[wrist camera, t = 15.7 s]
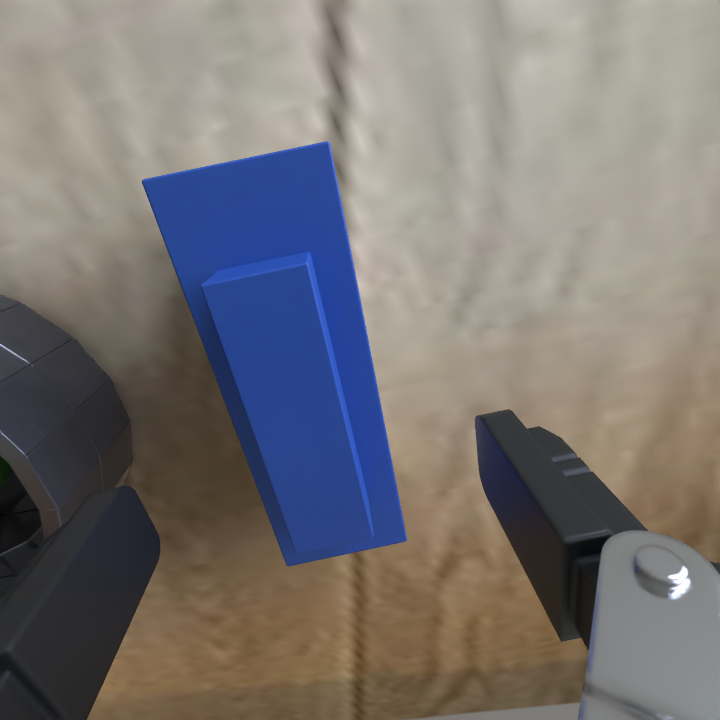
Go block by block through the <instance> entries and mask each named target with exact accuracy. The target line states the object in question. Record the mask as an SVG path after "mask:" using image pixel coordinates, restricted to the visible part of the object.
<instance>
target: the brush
mask: <svg viewBox="0 0 720 720" xmlns="http://www.w3.org/2000/svg"><path fill="white" fill-rule="evenodd" d="M142 184H143V186H144V189H145V192H146V194H147V197H148V200H149V202H150V205H151V207H152V210H153V213H154V215H155V218H156V221H157V223H158V226H159V229H160V231H161V234H162V237H163V239H164V242H165V245H166V247H167V250H168V253H169V255H170V258H171V260H172V263H173V266H174V268H175V271H176V274H177V276H178V279H179V282H180V284H181V287H182V290H183V292H184V295H185V298H186V300H187V303H188V305H189V308H190V311H191V313H192V316H193V319H194V321H195V324H196V327H197V329H198V332H199V335H200V337H201V340H202V343H203V345H204V348H205V350H206V353H207V356H208V358H209V361H210V364H211V366H212V369H213V372H214V374H215V377H216V380H217V382H218V385H219V388H220V390H221V393H222V395H223V398H224V401H225V403H226V406H227V409H228V411H229V414H230V417H231V419H232V422H233V425H234V427H235V430H236V433H237V435H238V438H239V440H240V443H241V446H242V448H243V451H244V454H245V456H246V459H247V462H248V464H249V467H250V470H251V472H252V475H253V478H254V480H255V483H256V486H257V488H258V491H259V493H260V496H261V499H262V501H263V504H264V507H265V509H266V512H267V515H268V517H269V520H270V523H271V525H272V528H273V531H274V533H275V536H276V538H277V541H278V544H279V546H280V549H281V552H282V554H283V557H284V560H285V562H286V565H287V566H293V565H297V564H302V563H307V562H311V561H316V560H321V559H325V558H330V557H335V556H340V555H344V554H349V553H354V552H358V551H363V550H368V549H372V548H377V547H382V546H386V545H391V544H396V543H401V542H405V541H407V537H406V532H405V526H404V521H403V516H402V511H401V506H400V501H399V496H398V490H397V485H396V480H395V475H394V470H393V465H392V460H391V454H390V449H389V444H388V439H387V434H386V429H385V424H384V418H383V413H382V408H381V403H380V398H379V393H378V388H377V382H376V377H375V372H374V367H373V362H372V357H371V352H370V346H369V341H368V336H367V331H366V326H365V321H364V316H363V310H362V305H361V300H360V295H359V290H358V285H357V280H356V274H355V269H354V264H353V259H352V254H351V249H350V244H349V238H348V233H347V228H346V223H345V218H344V213H343V208H342V202H341V197H340V192H339V187H338V182H337V177H336V172H335V166H334V161H333V156H332V151H331V146H330V143H329V142H327V141H326V142H322V143H317V144H312V145H307V146H302V147H298V148H293V149H288V150H283V151H278V152H273V153H269V154H264V155H259V156H254V157H249V158H245V159H240V160H235V161H230V162H225V163H220V164H216V165H211V166H206V167H201V168H196V169H192V170H187V171H182V172H177V173H172V174H167V175H163V176H158V177H153V178H148V179H144V180H142Z"/></svg>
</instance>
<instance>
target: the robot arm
mask: <svg viewBox="0 0 720 720" xmlns="http://www.w3.org/2000/svg"><path fill="white" fill-rule="evenodd" d="M475 429H476V441H477V453H478V465H479V473H480V478H481V482H482V486H483V489H484V492H485V494H486V496H487V499H488V500H489V502H490V504H491V506H492V508H493V510H494V512H495V514H496V516H497V518H498V520H499V522H500V524H501V526H502V528H503V530H504V532H505V533H506V535H507V537H508V539H509V541H510V543H511V545H512V547H513V549H514V551H515V553H516V555H517V557H518V559H519V561H520V563H521V565H522V566H523V568H524V570H525V572H526V574H527V576H528V578H529V580H530V582H531V584H532V586H533V588H534V590H535V592H536V594H537V596H538V597H539V599H540V601H541V603H542V605H543V607H544V609H545V611H546V613H547V615H548V617H549V619H550V621H551V623H552V625H553V627H554V629H555V630H556V632H557V634H558V636H559V638H560V640H561V642H562V641H567V640H572V639H577V638H582V640H583V642H584V644H585V645H586V647H587V649H588V651H589V653H588V661H587V669H586V676H585V683H584V685H583V689H582V695H581V701H580V708H579V716H578V720H720V564H718V563H712V562H709V561H708V560H707V559H706V558H705V557H704V556H702V555H701V554H700V553H699V552H697V551H696V550H694V549H693V548H691V547H690V546H688V545H686V544H684V543H683V542H681V541H679V540H676V539H674V538H672V537H669V536H666V535H663V534H660V533H655V532H650V531H648V530H647V529H646V528H645V527H644V526H643V525H642V524H641V523H640V522H639V521H638V520H637V519H636V518H635V517H634V515H633V514H632V513H631V512H630V511H629V510H628V509H627V508H626V507H625V506H624V505H623V504H622V503H621V502H620V500H619V499H618V498H617V497H616V496H615V495H614V494H613V493H612V492H611V491H610V490H609V489H608V488H607V487H606V485H605V484H604V483H603V482H602V481H601V480H600V479H599V478H598V477H597V476H596V475H595V474H594V473H593V472H590V470H589V467H588V466H587V465H586V464H585V463H584V462H583V461H582V460H581V459H580V458H577V456H576V453H575V452H574V451H573V450H572V449H571V448H570V447H569V446H568V445H567V444H566V443H565V442H564V440H563V439H562V438H560V437H558V436H556V435H555V434H553V433H551V432H549V431H547V430H545V429H543V428H541V427H534V428H529V429H527V428H526V427H525V426H524V425H523V424H522V422H521V421H520V420H519V419H518V418H517V416H516V415H515V414H514V413H513V412H512V411H511V410H509V409H508V410H503V411H498V412H493V413H488V414H483V415H478V416H476V418H475ZM159 556H160V539H159V535H158V533H157V531H156V529H155V527H154V525H153V523H152V521H151V519H150V517H149V516H148V514H147V512H146V510H145V508H144V506H143V504H142V502H141V500H140V499H139V497H138V495H137V493H136V491H135V490H134V489H133V488H132V487H130V486H121V487H116V488H111V489H107V490H102V491H97V492H93V493H90V494H89V495H88V496H87V497H86V498H85V499H84V501H83V502H82V503H81V504H80V506H79V507H78V508H77V510H76V511H75V512H74V513H73V515H72V516H71V517H70V519H69V520H68V521H67V522H66V523H65V524H64V525H62V526H61V527H60V528H59V529H58V530H56V531H55V532H54V533H53V534H52V535H51V536H49V537H48V538H47V539H46V540H45V541H44V542H43V543H42V544H41V546H40V547H39V548H38V549H37V551H36V552H35V553H34V554H33V556H32V557H31V558H30V559H29V561H28V562H27V563H26V564H27V566H26V567H25V568H22V569H21V571H20V572H19V573H18V574H17V576H16V577H15V578H14V579H13V581H12V582H11V587H7V588H6V589H5V591H4V592H3V593H2V594H1V596H0V720H87V718H88V715H89V713H90V711H91V709H92V707H93V704H94V702H95V700H96V698H97V696H98V693H99V691H100V689H101V687H102V684H103V682H104V680H105V678H106V676H107V673H108V671H109V669H110V667H111V665H112V662H113V660H114V658H115V656H116V654H117V651H118V649H119V647H120V645H121V642H122V640H123V638H124V636H125V634H126V631H127V629H128V627H129V625H130V623H131V620H132V618H133V616H134V614H135V611H136V609H137V607H138V605H139V603H140V600H141V598H142V596H143V594H144V592H145V589H146V587H147V585H148V583H149V580H150V578H151V576H152V574H153V572H154V569H155V567H156V565H157V563H158V560H159Z"/></svg>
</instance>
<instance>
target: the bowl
mask: <svg viewBox="0 0 720 720" xmlns="http://www.w3.org/2000/svg"><path fill="white" fill-rule="evenodd" d="M0 456H1V457H2V458H3V459H4V460H5V461H6V462H8V464H9V465H10V467H11V468H12V470H13V471H12V473H11V474H10V476H9V477H8V478H7V480H6V481H5V482H4V483H3V484H2V485H1V486H0V596H1V594H2V593H3V592H4V591H5V589H6V588H7V587H11V582H12V581H13V579H14V578H15V577H16V576H17V574H18V573H19V572H20V571H21V569H22V568H25V567H26V566H27V564H26V563H27V562H28V561H29V559H30V558H31V557H32V556H33V554H34V553H35V552H36V551H37V549H38V548H39V547H40V546H41V544H42V543H43V542H44V541H45V540H46V539H47V538H48V537H49V536H51V535H52V534H53V533H54V532H55V531H56V530H58V529H59V528H60V527H61V526H62V525H64V524H65V523H66V522H67V521H68V520H69V519H70V517H71V516H72V515H73V513H74V512H75V511H76V510H77V508H78V507H79V506H80V504H81V503H82V502H83V501H84V499H85V498H86V497H87V496H88V495H89V494H90V493H93V492H97V491H102V490H107V489H111V488H116V487H121V486H124V483H125V481H126V478H127V475H128V472H129V469H130V467H131V464H132V460H133V455H132V441H131V427H130V419H129V417H128V415H127V413H126V411H125V409H124V406H123V404H122V402H121V400H120V398H119V396H118V394H117V391H116V389H115V387H114V385H113V383H112V381H111V379H110V378H109V377H108V375H107V374H106V373H105V372H104V371H103V370H102V369H101V368H100V366H99V365H98V364H97V363H96V362H95V361H94V360H93V359H92V357H91V356H90V355H89V354H88V353H87V352H86V351H85V350H84V348H83V347H82V346H81V345H80V344H79V343H78V342H77V341H76V339H73V337H72V336H70V335H69V334H67V333H66V332H64V331H63V330H61V329H60V328H58V327H57V326H55V325H54V324H53V323H51V322H50V321H48V320H47V319H45V318H44V317H42V316H41V315H39V314H38V313H36V312H35V311H33V310H32V309H30V308H29V307H27V306H26V305H24V304H21V302H18V301H16V300H13V299H11V298H8V297H5V296H3V295H0Z"/></svg>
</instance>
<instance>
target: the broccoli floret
mask: <svg viewBox="0 0 720 720" xmlns="http://www.w3.org/2000/svg"><path fill="white" fill-rule="evenodd" d="M12 471H13V470H12V468H11V467H10V465H9V464H8V462H6V461H5V460H4V459H3V458H2V457H1V456H0V486H1V485H2V484H3V483H4V482H5V481H6V480H7V478H8V477H9V476H10V474H11V473H12Z"/></svg>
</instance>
